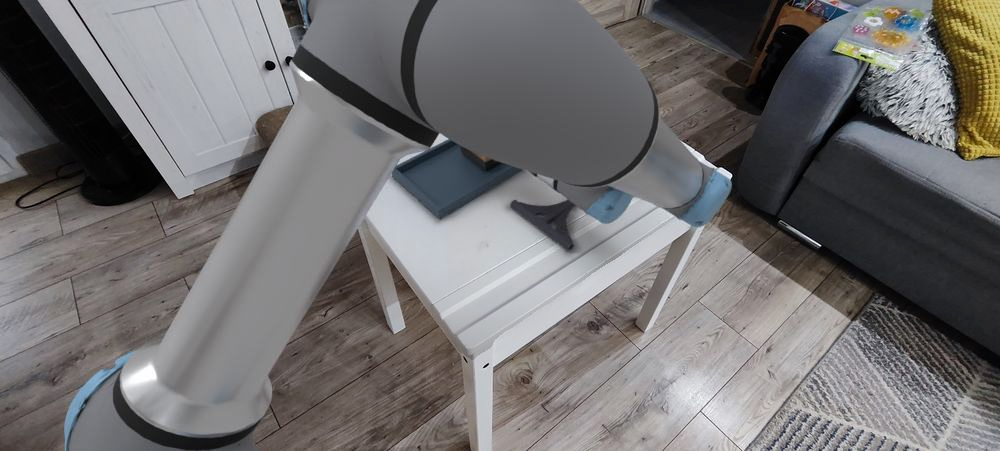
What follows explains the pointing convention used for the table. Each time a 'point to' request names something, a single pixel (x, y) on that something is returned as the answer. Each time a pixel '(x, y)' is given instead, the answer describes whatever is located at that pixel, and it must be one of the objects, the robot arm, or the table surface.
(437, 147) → the tray
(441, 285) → the table surface
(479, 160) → the wooden rubber stamp
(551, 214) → the bracket
